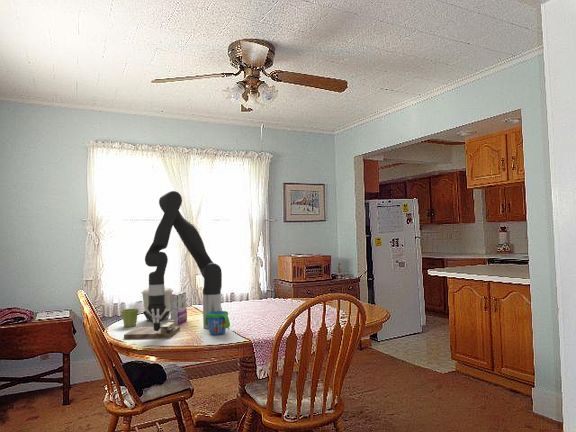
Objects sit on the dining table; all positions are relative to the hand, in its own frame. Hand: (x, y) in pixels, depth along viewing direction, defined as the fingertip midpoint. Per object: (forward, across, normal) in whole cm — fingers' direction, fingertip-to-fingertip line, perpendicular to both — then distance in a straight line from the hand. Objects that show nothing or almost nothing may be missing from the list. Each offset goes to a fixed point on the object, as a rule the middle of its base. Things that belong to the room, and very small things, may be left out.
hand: (156, 330), depth 204 cm
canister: (+4, +16, -47) cm, 50 cm away
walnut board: (+3, +4, -6) cm, 8 cm away
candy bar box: (+3, 0, -35) cm, 35 cm away
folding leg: (+1, -4, -5) cm, 7 cm away
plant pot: (+4, +25, -29) cm, 39 cm away
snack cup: (+3, -28, -5) cm, 29 cm away
